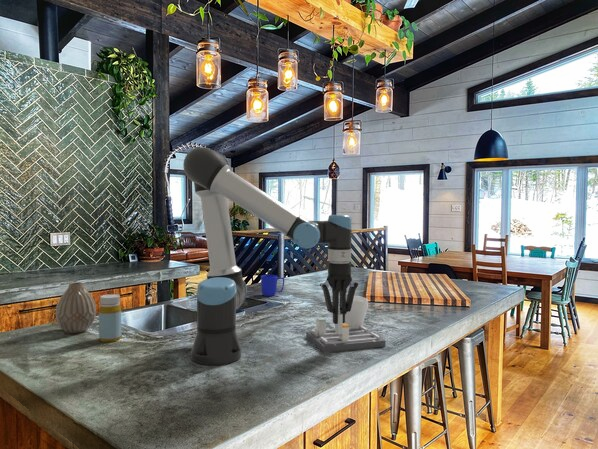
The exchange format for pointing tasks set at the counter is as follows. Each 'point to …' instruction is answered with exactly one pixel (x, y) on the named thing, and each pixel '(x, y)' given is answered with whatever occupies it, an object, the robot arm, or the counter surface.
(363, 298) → the cup
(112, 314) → the bottle
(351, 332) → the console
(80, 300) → the vase
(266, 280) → the mug
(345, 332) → the fader
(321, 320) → the block
